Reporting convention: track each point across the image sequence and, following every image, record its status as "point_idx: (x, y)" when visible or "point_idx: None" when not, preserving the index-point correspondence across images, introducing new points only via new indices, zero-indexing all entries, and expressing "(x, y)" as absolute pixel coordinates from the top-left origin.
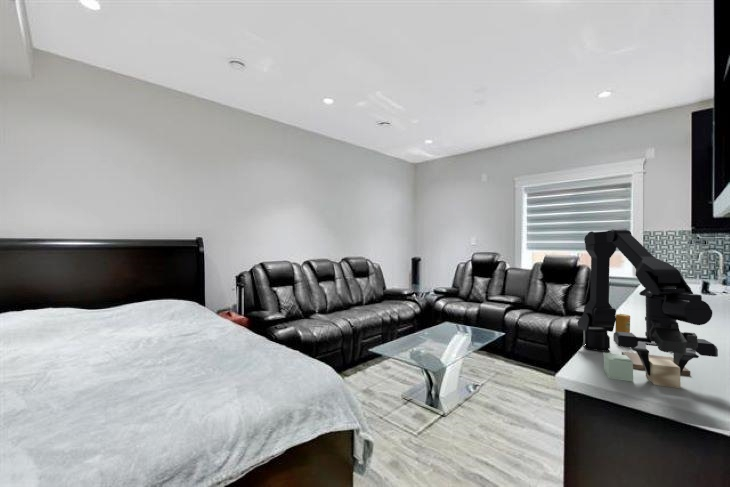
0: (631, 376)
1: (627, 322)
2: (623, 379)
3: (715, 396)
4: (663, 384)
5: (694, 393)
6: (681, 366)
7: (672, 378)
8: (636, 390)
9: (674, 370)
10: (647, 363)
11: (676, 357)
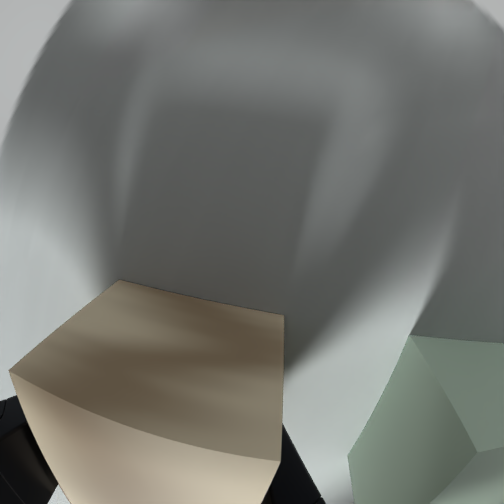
0: (431, 358)
1: None
2: (458, 342)
3: (7, 195)
4: (216, 308)
5: (75, 204)
6: (10, 411)
7: (131, 323)
8: (482, 147)
9: (71, 368)
10: (292, 494)
11: (12, 497)
